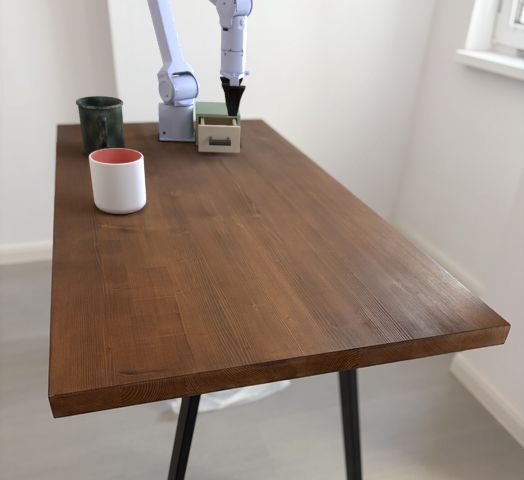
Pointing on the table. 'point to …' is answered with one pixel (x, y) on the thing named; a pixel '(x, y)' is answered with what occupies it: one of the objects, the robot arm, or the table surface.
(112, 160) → the cup
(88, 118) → the mug
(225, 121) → the drawer
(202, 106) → the cabinet
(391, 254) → the table surface
